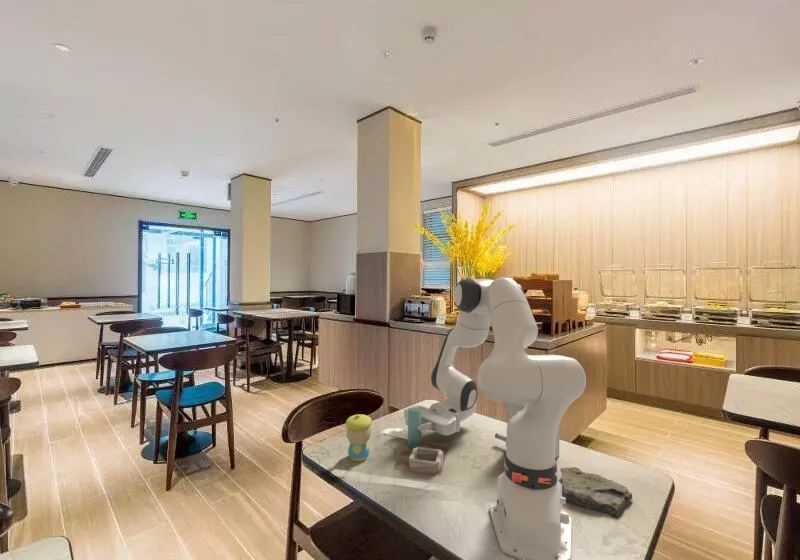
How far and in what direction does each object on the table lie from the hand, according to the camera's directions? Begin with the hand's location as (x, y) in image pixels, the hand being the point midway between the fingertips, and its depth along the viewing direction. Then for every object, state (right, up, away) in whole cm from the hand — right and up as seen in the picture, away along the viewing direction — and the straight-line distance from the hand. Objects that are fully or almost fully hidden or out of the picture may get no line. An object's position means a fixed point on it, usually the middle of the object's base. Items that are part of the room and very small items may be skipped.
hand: (412, 425), depth 123 cm
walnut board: (+3, -9, -6) cm, 11 cm away
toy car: (-5, -9, +11) cm, 15 cm away
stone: (+48, -10, -24) cm, 54 cm away
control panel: (+35, -9, -1) cm, 36 cm away
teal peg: (+1, -7, +1) cm, 7 cm away
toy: (-17, -9, -7) cm, 20 cm away
